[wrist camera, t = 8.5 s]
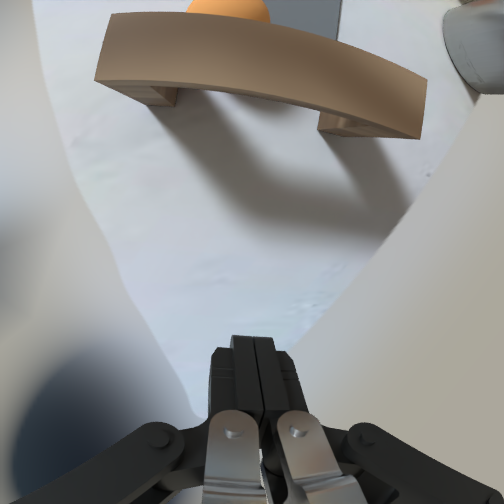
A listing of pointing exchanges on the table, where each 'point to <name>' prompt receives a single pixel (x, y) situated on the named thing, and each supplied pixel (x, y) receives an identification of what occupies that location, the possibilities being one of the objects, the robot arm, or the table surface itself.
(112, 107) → the table surface
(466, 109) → the table surface
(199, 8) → the ball
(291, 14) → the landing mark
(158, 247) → the table surface
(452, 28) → the robot arm
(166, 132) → the table surface
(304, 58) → the bridge
